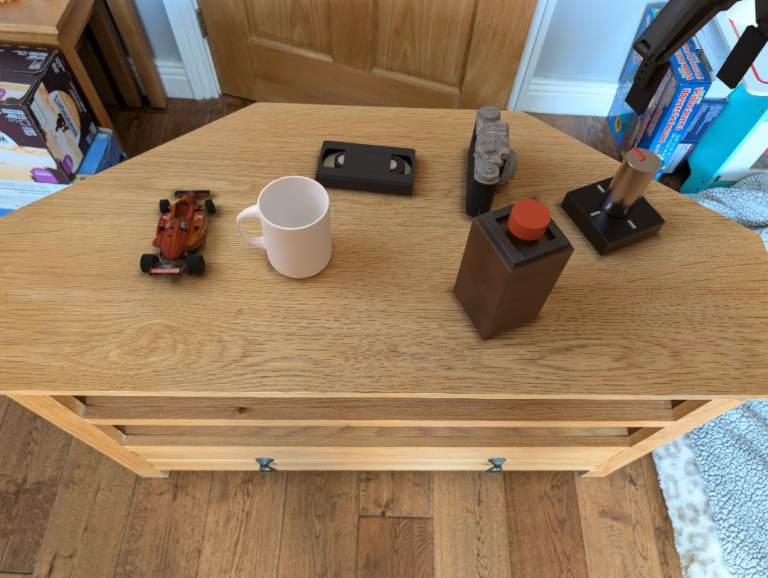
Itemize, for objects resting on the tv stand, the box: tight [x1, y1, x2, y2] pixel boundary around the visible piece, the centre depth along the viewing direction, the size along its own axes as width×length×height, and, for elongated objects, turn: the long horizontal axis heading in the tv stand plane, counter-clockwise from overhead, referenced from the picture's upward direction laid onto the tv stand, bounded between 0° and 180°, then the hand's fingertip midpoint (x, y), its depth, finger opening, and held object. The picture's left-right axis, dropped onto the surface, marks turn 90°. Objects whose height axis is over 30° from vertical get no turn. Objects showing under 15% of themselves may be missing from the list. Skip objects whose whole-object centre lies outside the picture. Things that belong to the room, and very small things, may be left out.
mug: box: [235, 175, 333, 279], centre depth 71 cm, size 9×12×11 cm
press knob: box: [508, 198, 552, 240], centre depth 58 cm, size 4×4×2 cm
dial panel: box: [560, 175, 667, 257], centre depth 80 cm, size 10×10×3 cm
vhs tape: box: [314, 139, 417, 197], centre depth 84 cm, size 14×8×2 cm, turn 85°
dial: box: [601, 146, 662, 218], centre depth 75 cm, size 4×4×9 cm
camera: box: [464, 105, 519, 219], centre depth 80 cm, size 15×7×10 cm, turn 173°
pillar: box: [452, 196, 575, 341], centre depth 66 cm, size 8×8×16 cm
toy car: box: [139, 189, 217, 277], centre depth 75 cm, size 8×16×4 cm, turn 0°
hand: (680, 94), depth 65 cm, fingers open, 13 cm apart
